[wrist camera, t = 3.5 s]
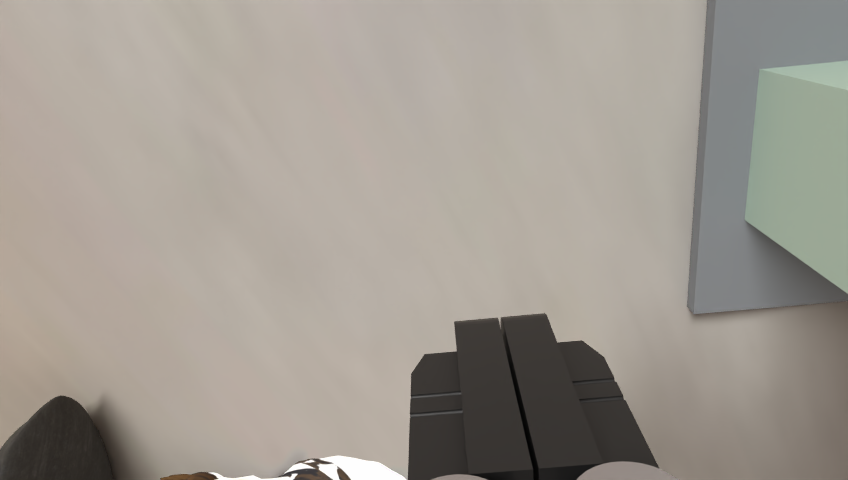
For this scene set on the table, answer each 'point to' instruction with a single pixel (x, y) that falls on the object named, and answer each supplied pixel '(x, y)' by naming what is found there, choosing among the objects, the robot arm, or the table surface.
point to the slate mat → (731, 152)
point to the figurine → (89, 465)
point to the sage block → (803, 165)
